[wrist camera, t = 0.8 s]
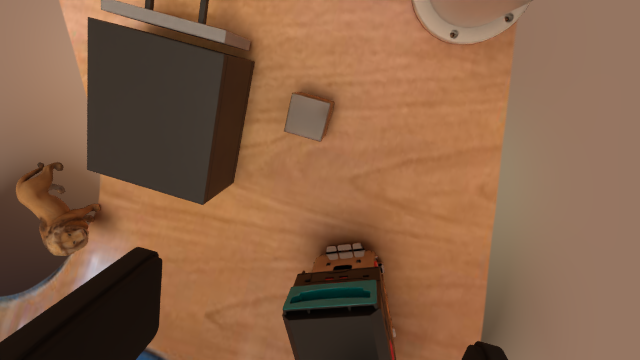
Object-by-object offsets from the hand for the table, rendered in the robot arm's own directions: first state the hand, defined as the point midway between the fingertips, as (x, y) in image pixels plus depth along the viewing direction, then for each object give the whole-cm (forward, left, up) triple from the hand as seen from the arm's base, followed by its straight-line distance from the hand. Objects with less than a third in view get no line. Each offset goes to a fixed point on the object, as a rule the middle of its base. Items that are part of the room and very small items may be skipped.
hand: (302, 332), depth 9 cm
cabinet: (+2, -21, -32) cm, 38 cm away
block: (-2, -5, -32) cm, 32 cm away
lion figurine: (+20, -37, -32) cm, 53 cm away
